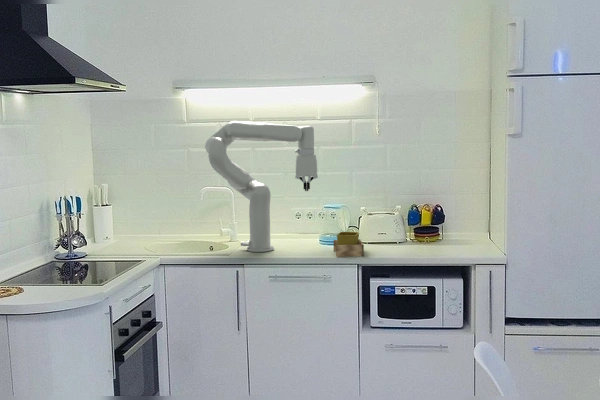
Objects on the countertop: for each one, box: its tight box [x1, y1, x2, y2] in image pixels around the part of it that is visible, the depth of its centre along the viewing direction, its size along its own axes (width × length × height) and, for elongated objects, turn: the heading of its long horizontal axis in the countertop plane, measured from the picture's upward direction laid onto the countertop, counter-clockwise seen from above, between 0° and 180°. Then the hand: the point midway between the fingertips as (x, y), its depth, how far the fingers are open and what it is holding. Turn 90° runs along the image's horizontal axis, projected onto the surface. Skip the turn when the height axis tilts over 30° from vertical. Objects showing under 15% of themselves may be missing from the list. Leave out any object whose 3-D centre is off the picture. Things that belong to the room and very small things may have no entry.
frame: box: [333, 238, 365, 258], centre depth 292 cm, size 12×15×5 cm
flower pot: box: [336, 231, 360, 245], centre depth 293 cm, size 9×9×9 cm
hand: (306, 190), depth 309 cm, fingers closed
